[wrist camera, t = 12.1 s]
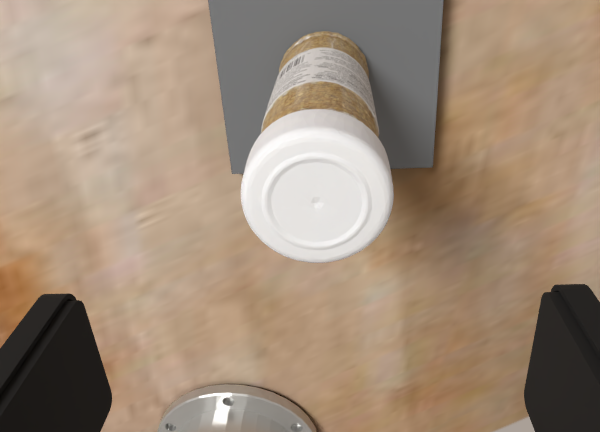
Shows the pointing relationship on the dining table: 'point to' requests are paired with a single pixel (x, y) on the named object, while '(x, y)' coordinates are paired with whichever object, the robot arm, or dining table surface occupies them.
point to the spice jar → (319, 156)
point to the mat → (372, 43)
